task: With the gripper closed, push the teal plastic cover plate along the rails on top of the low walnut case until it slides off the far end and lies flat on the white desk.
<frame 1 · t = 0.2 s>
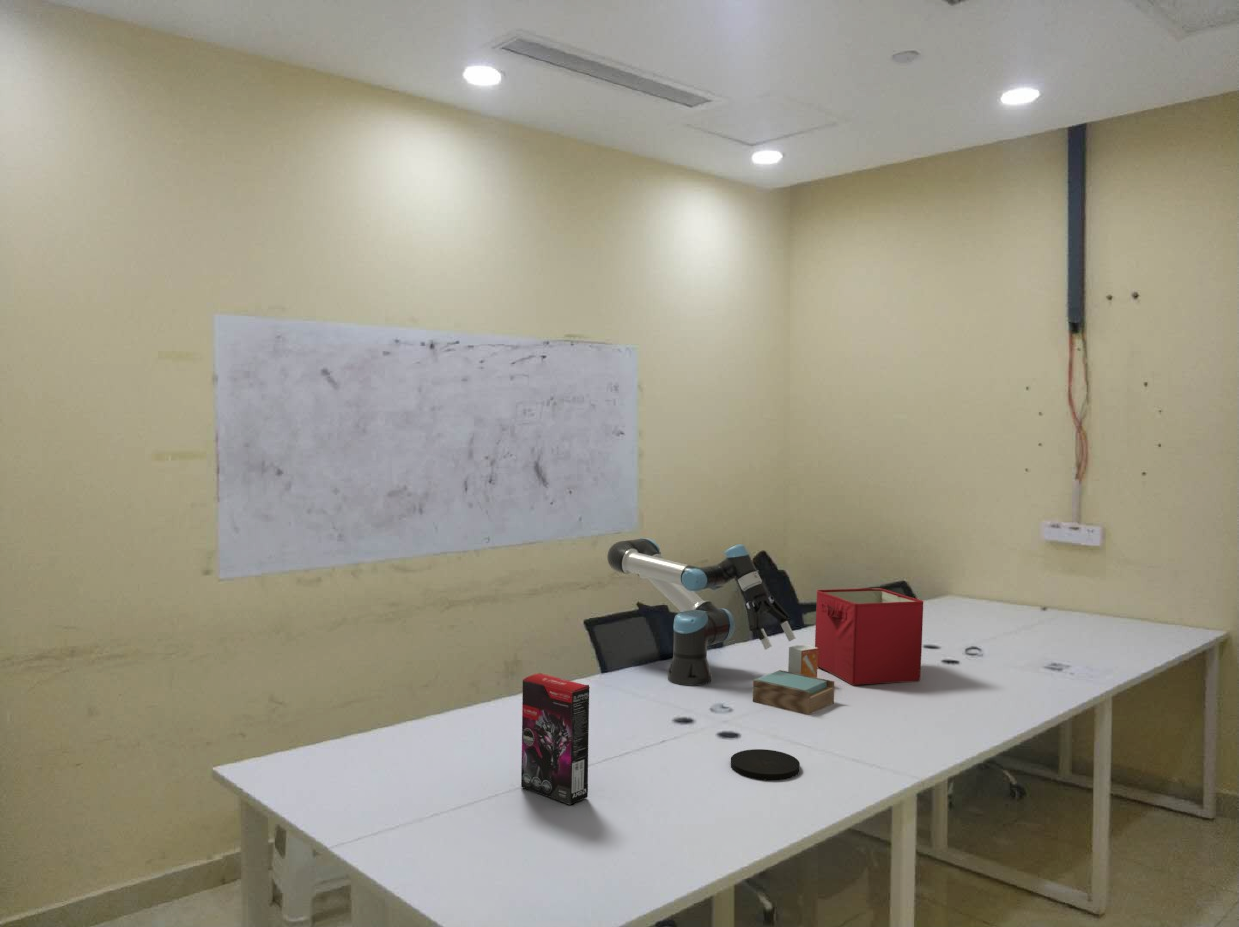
hand: (780, 643, 316), 15 cm above the table, tool tilted 35°, fingers open, 13 cm apart
wireless charger: (764, 769, 244), on the table
cover plate: (790, 686, 301), point 5 cm above the table, touching walnut case
walnut case: (793, 702, 301), on the table
graphics card box: (554, 793, 225), on the table
small box: (802, 685, 322), on the table
storage cube: (865, 674, 337), on the table
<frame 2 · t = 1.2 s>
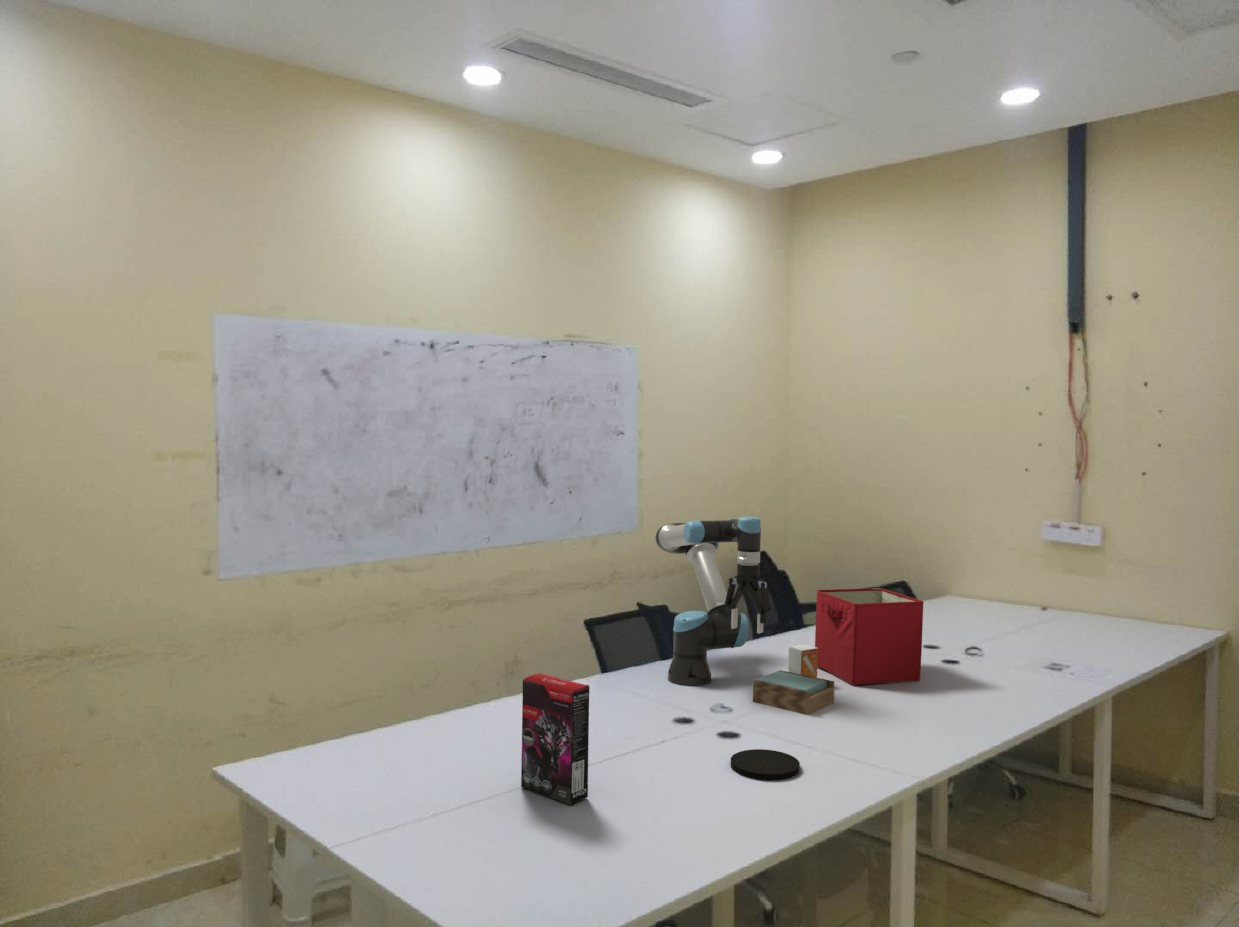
hand: (747, 630, 311), 21 cm above the table, tool pointing down, fingers open, 9 cm apart
nothing on the table moved.
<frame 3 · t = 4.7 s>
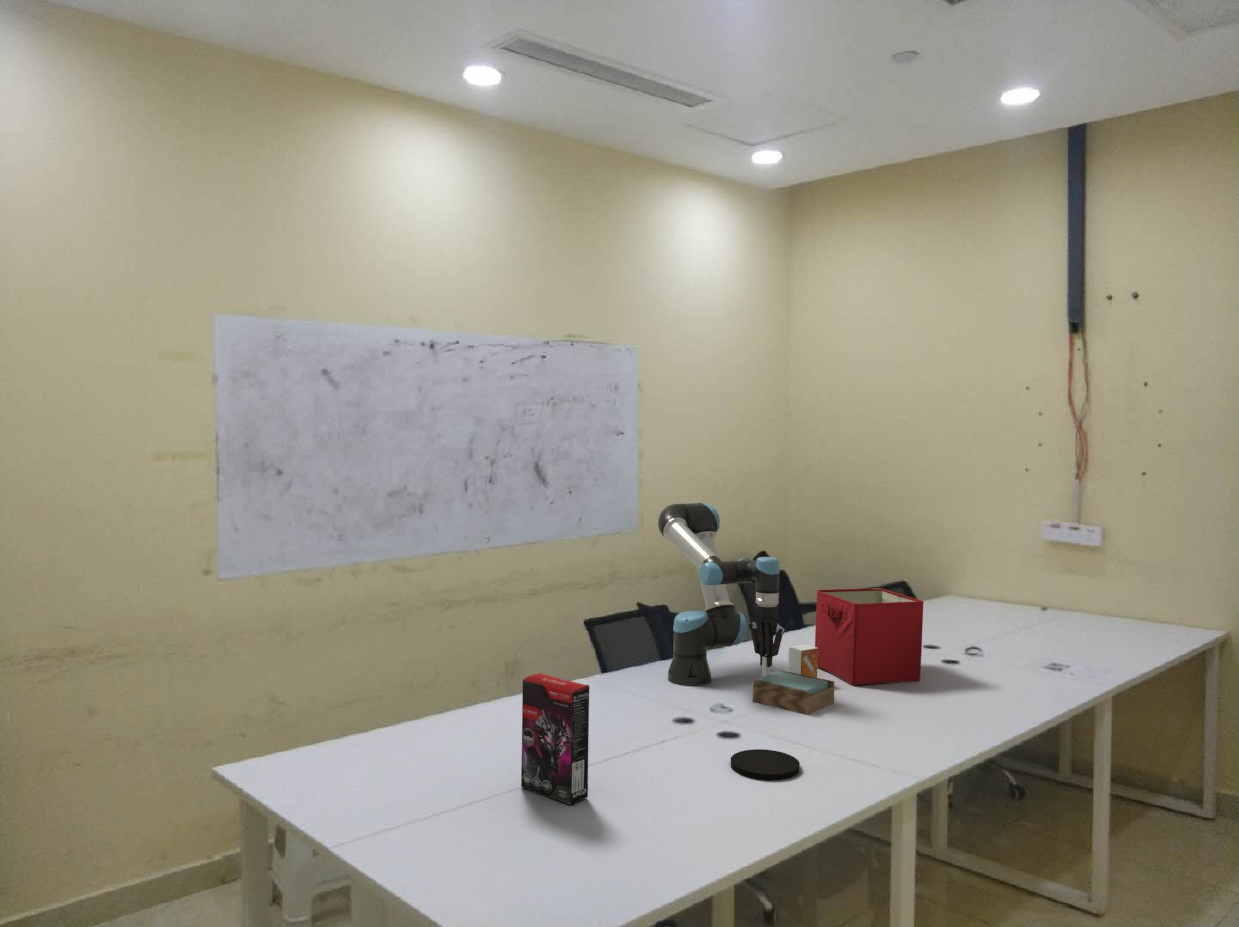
hand: (765, 675, 307), 7 cm above the table, tool pointing down, fingers closed
cover plate: (792, 686, 301), point 5 cm above the table, touching gripper, walnut case
everything else where it was.
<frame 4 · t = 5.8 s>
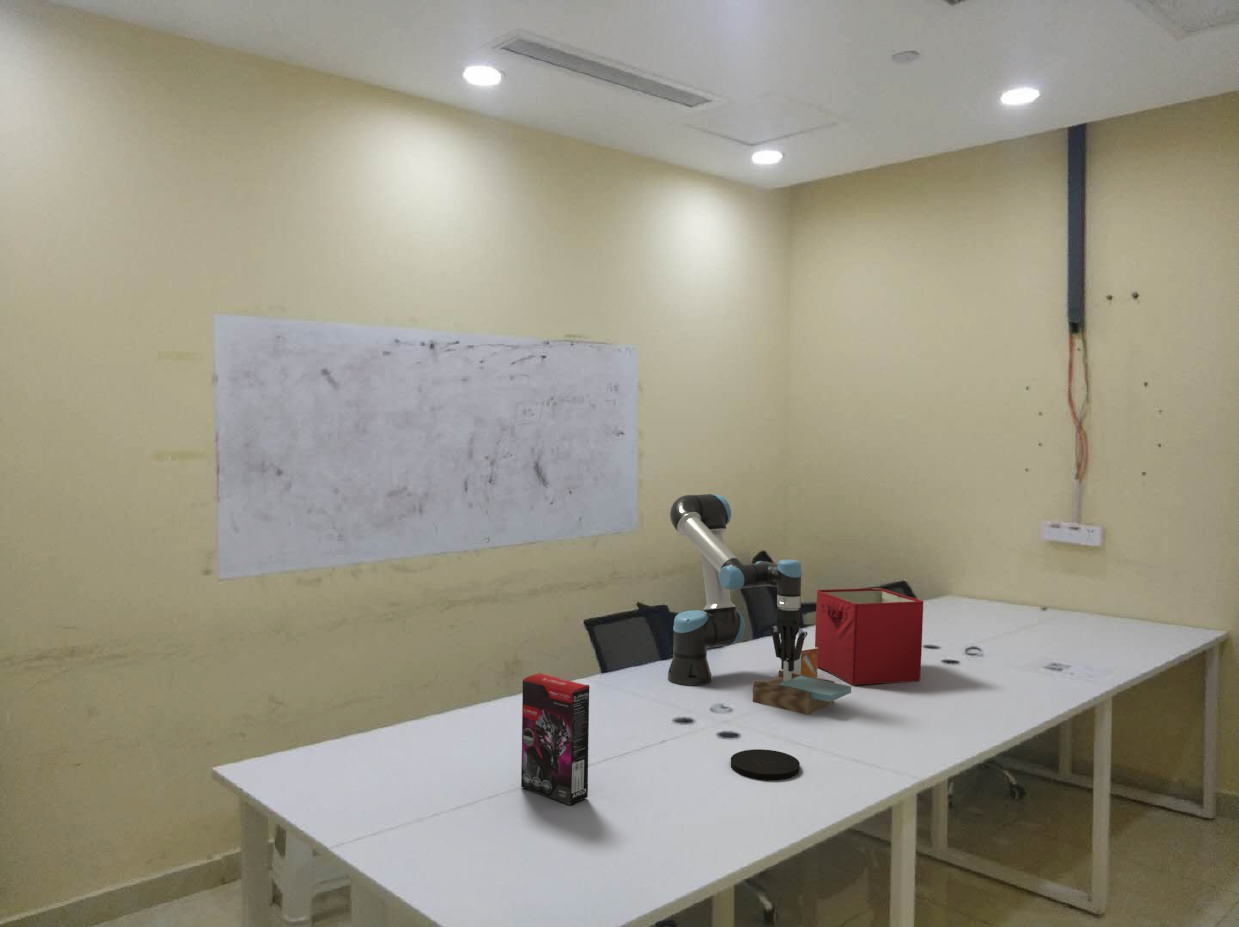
hand: (787, 680, 302), 7 cm above the table, tool pointing down, fingers closed
cover plate: (814, 691, 296), point 5 cm above the table, touching walnut case
everything else where it was.
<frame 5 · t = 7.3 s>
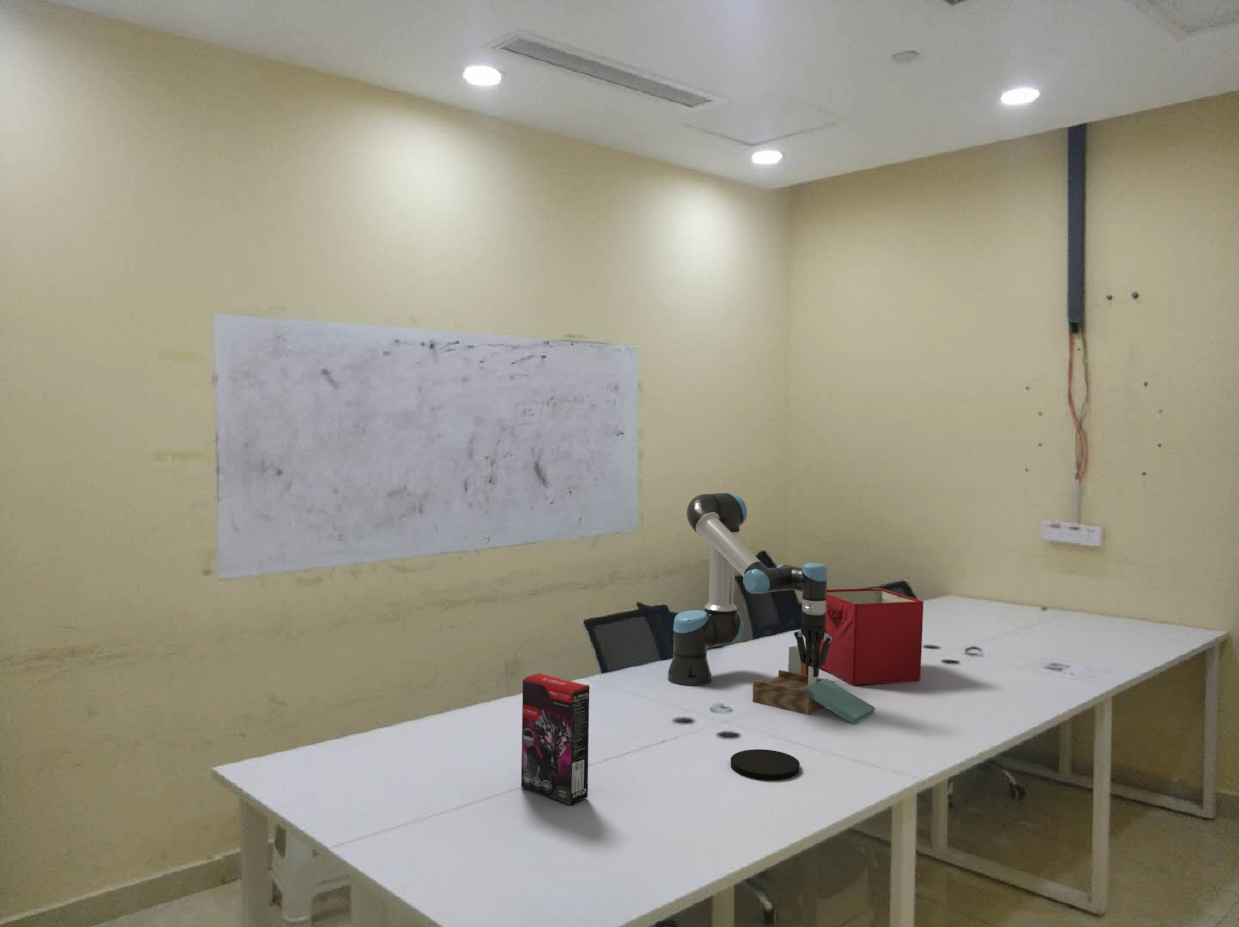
hand: (812, 686, 296), 7 cm above the table, tool pointing down, fingers closed
cover plate: (838, 703, 291), point 3 cm above the table, tilted 19°, touching gripper, walnut case
everything else where it was.
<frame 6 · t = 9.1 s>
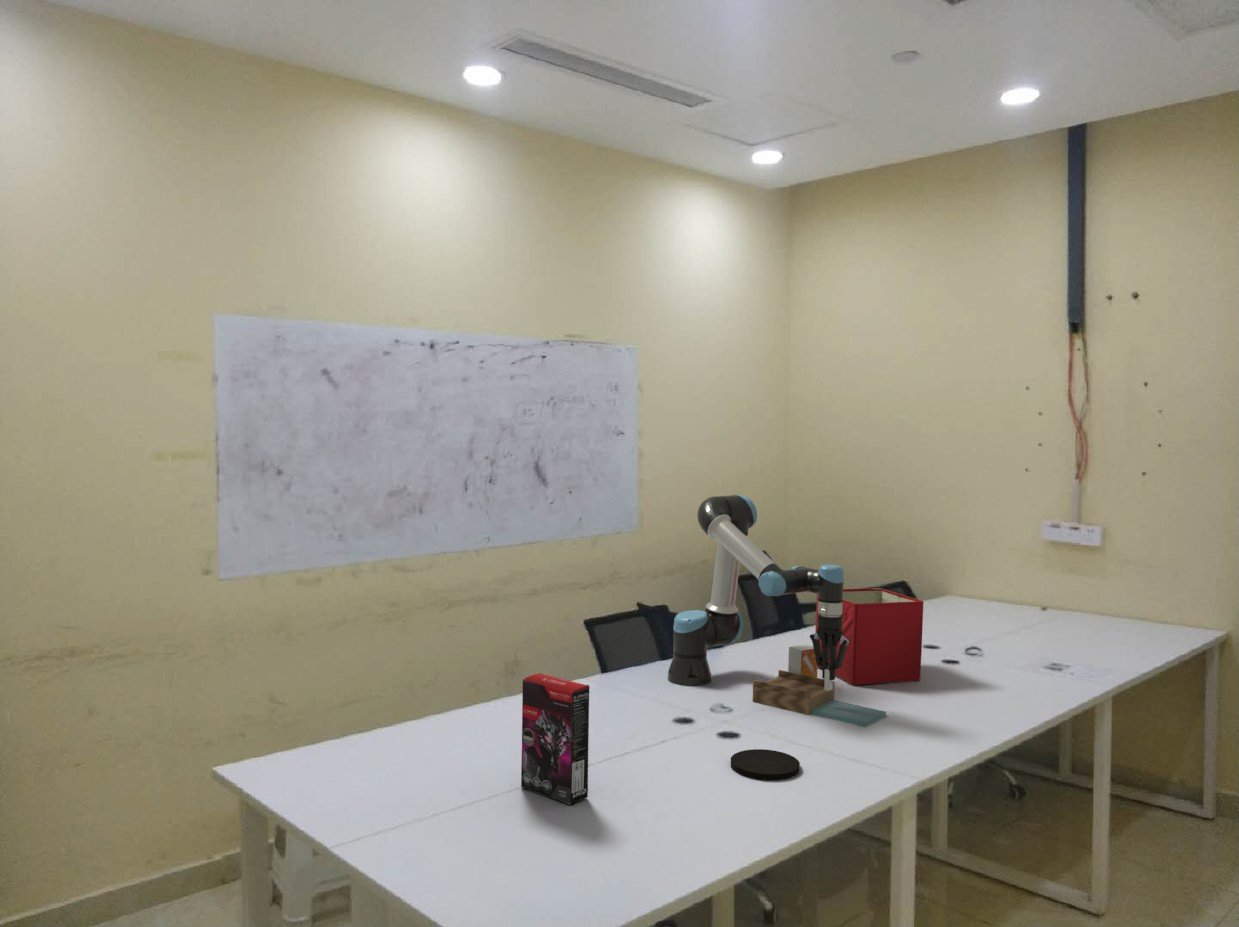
hand: (828, 689, 292), 7 cm above the table, tool pointing down, fingers closed
cover plate: (848, 716, 289), on the table
everything else where it was.
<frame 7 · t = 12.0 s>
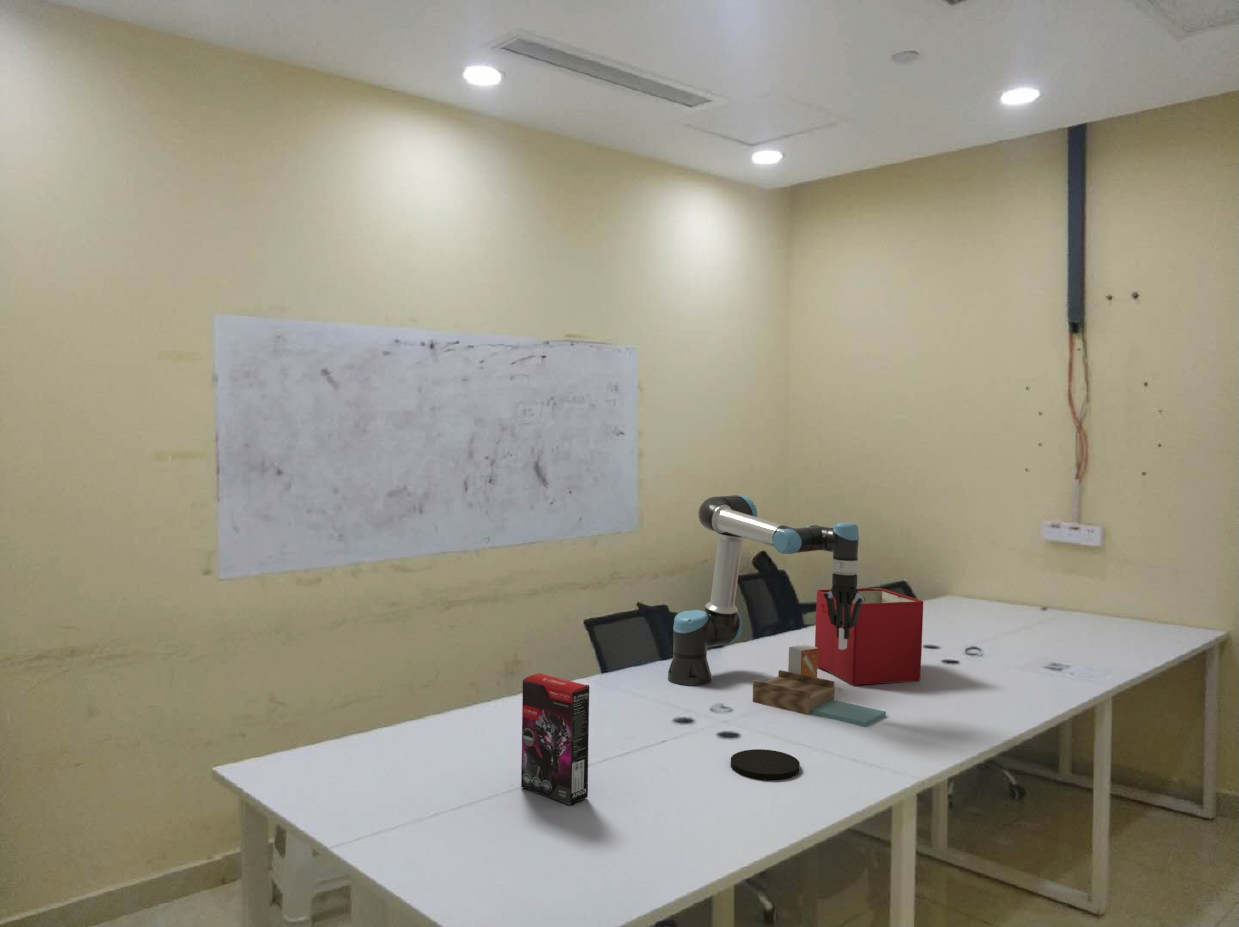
hand: (842, 648, 289), 20 cm above the table, tool pointing down, fingers closed
nothing on the table moved.
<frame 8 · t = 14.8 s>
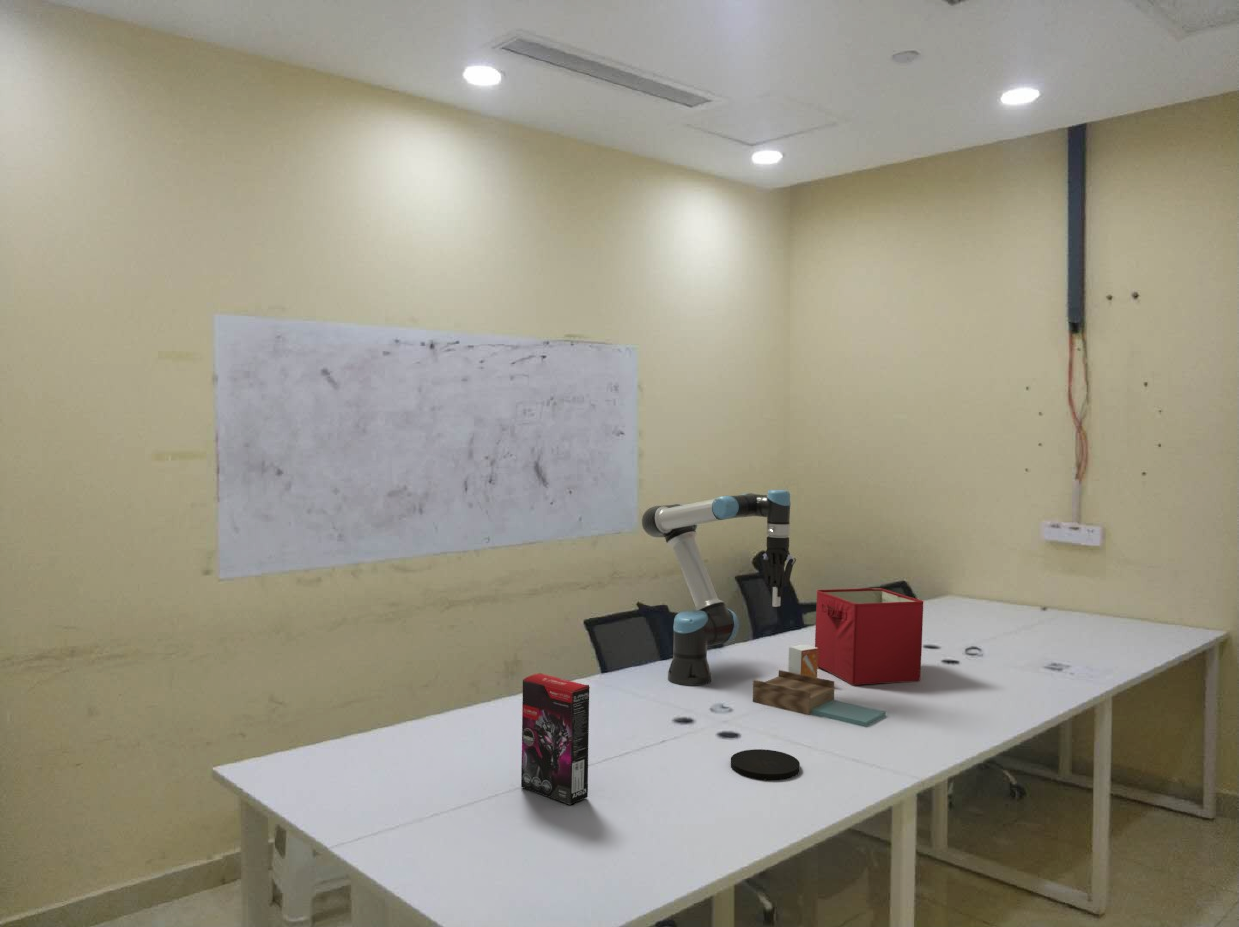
hand: (776, 605, 314), 28 cm above the table, tool pointing down, fingers closed
nothing on the table moved.
at the end: cover plate inside the target area (8.3 cm from its centre), on the table; cover plate touching table; cover plate tilted 0° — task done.
